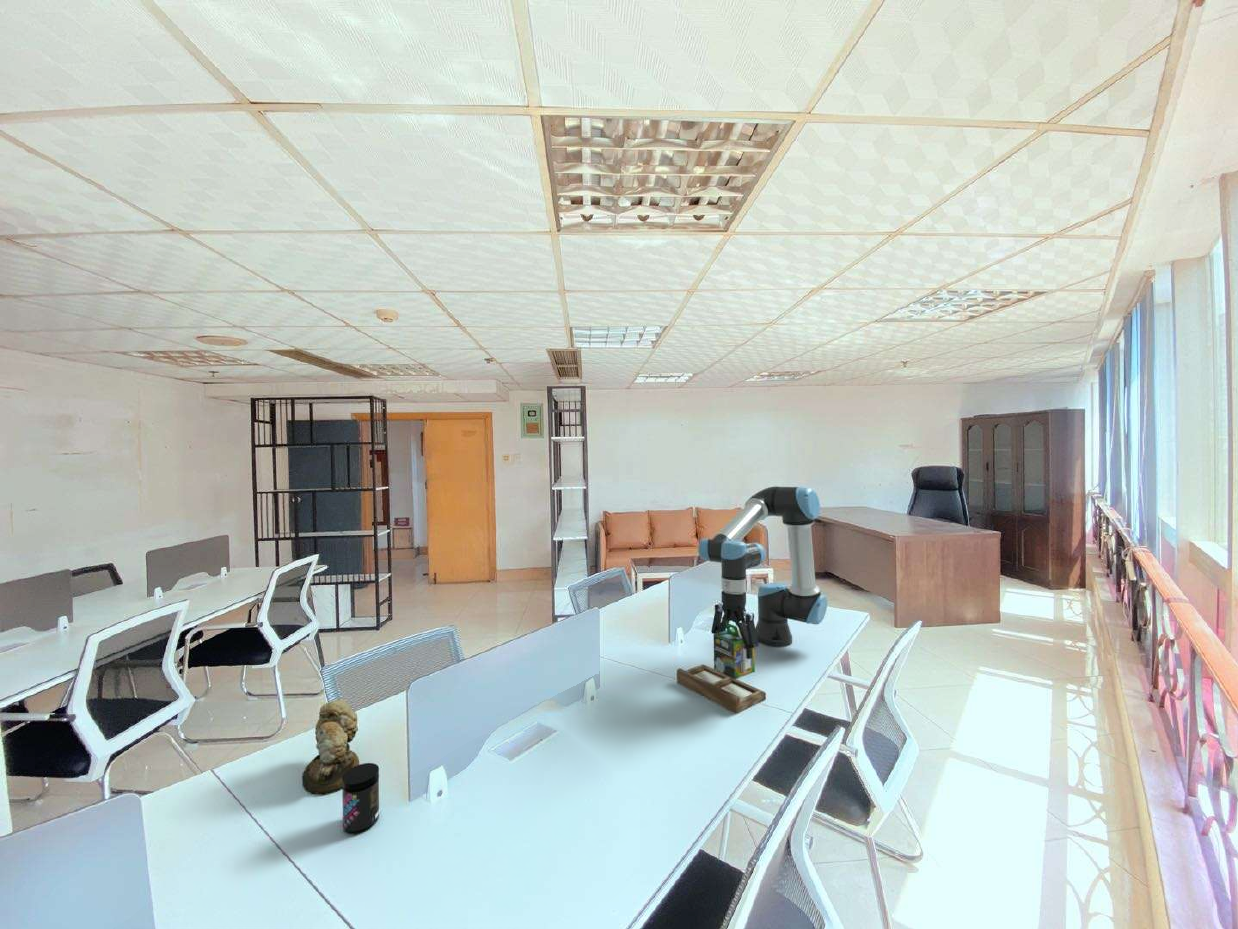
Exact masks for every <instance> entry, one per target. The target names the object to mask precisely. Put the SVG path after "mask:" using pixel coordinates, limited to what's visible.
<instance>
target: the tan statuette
mask: <svg viewBox="0 0 1238 929" xmlns="http://www.w3.org/2000/svg"><path fill="white" fill-rule="evenodd" d="M318 714H319V716H318V718H319V719H318V720H317V722H316V723H315V728H314V729H315V733H314V734H315V740H316V745H315V748H316V749H317V750H318V755H316V756H315V757H314V758H313V759H312V760H311V761H310V762H309V763H308V764H307V765H306V766H305V768H304V771H303V773H302V776H301V783H302V786H303V788H304V790H305V791H306V792H308V793H309V794H312V795H320V796H326V795H329V794H333V793H335V792H336V793H337V792H339V791H342V777H343V775H344V773H345V772H346V771H348V770H349V769H351V768H353V767H355V766H357V765H360V759H359V756H358V755H357V753H355V752H354V751H353V750H350V748H351V746H350V743H351V742H352V741H353V740H354V738H355V737H356V734H357V733H358V731H359V727H358V713H356V711H355V710H353V709H352V705H350V703H349V702H348V701H345V700H343V699H335V700H332V701H328V702H326V703H324V704H323V705H322V706H321V707H320V710H319V713H318Z"/></svg>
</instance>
